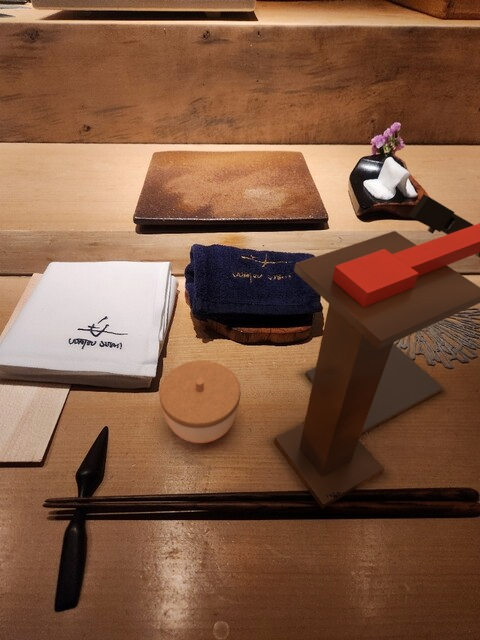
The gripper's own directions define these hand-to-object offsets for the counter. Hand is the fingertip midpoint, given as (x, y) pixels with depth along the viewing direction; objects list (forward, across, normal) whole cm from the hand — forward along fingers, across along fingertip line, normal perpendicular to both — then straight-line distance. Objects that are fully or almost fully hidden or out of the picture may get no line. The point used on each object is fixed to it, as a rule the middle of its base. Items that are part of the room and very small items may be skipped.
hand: (468, 236), depth 46 cm
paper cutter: (-18, +7, -26) cm, 32 cm away
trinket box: (+5, +13, -40) cm, 42 cm away
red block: (+3, 0, -4) cm, 5 cm away
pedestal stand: (-7, 0, -32) cm, 33 cm away
